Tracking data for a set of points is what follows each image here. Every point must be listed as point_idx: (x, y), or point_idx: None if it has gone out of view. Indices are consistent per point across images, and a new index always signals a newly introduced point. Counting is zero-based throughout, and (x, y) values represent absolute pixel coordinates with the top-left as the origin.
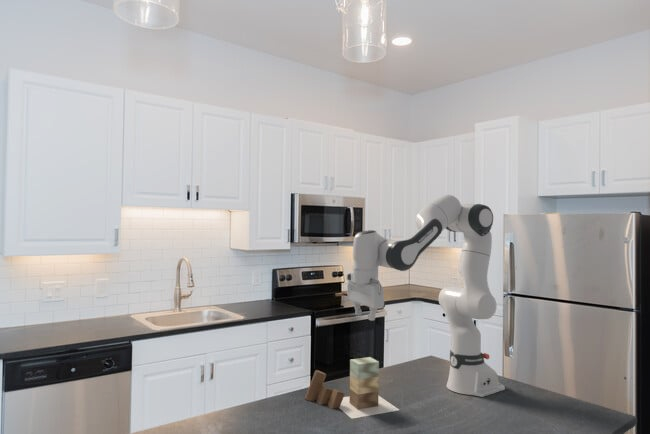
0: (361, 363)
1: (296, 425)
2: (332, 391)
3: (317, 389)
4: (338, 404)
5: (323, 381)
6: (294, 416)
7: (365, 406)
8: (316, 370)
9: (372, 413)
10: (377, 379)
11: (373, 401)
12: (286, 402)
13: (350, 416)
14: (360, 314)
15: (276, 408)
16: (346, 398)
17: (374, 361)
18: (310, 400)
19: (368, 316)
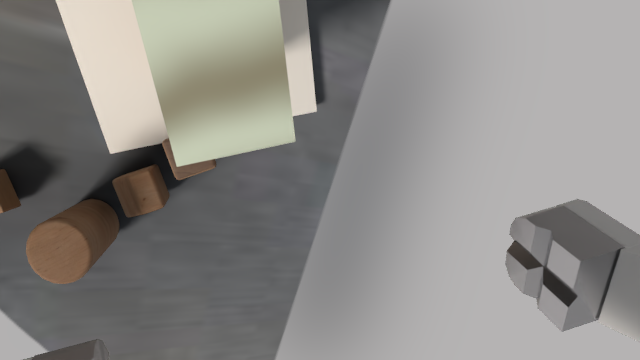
0: (283, 116)
1: (286, 266)
2: (152, 171)
3: (107, 226)
4: None
5: (84, 217)
6: (222, 271)
7: None
8: (59, 280)
9: (295, 15)
10: None
11: None
12: (91, 295)
13: (299, 111)
14: (107, 357)
15: (146, 320)
16: (105, 77)
17: (258, 6)
18: (118, 228)
19: (545, 308)
